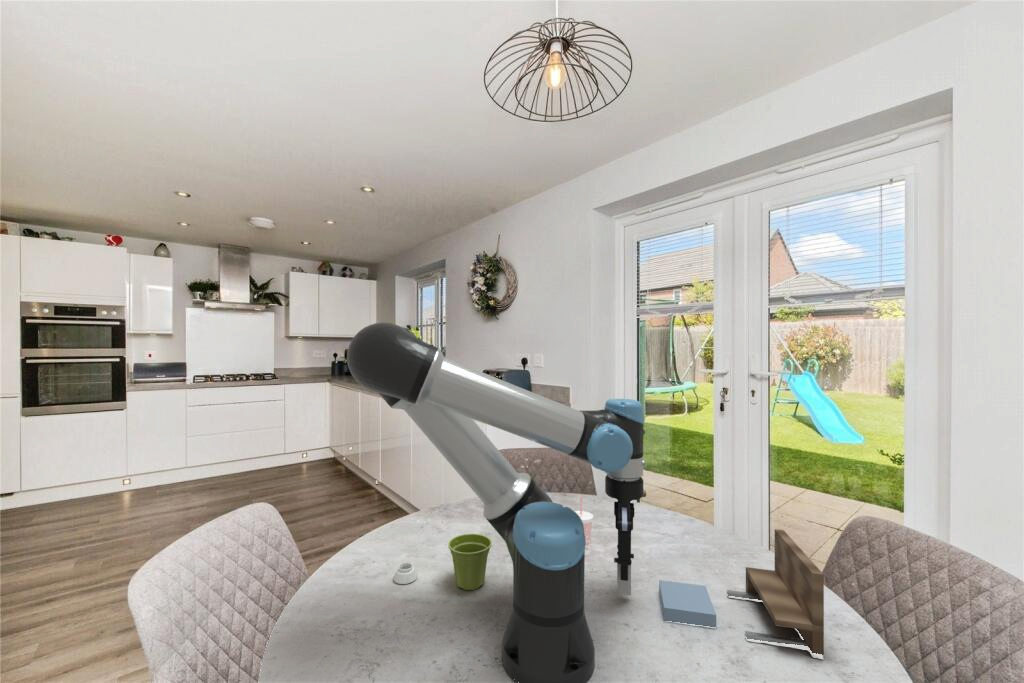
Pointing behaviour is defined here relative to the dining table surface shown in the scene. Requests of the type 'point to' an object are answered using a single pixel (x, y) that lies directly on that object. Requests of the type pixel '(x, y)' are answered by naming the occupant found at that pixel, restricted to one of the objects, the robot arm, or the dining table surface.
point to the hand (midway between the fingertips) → (624, 592)
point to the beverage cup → (586, 525)
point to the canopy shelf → (789, 594)
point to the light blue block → (686, 603)
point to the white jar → (405, 574)
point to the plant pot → (470, 559)
